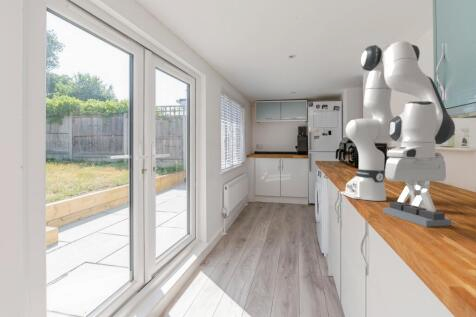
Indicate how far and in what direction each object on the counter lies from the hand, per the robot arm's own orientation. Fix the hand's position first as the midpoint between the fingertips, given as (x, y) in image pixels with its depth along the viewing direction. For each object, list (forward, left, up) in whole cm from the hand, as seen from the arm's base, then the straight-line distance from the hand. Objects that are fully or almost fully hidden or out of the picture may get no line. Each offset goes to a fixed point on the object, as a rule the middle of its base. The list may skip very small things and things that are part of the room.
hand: (414, 195), depth 80 cm
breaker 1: (-12, +7, -6) cm, 15 cm away
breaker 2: (-6, +7, -6) cm, 11 cm away
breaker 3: (0, +7, -6) cm, 9 cm away
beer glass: (-18, +22, -10) cm, 30 cm away
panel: (-6, +7, -10) cm, 13 cm away
